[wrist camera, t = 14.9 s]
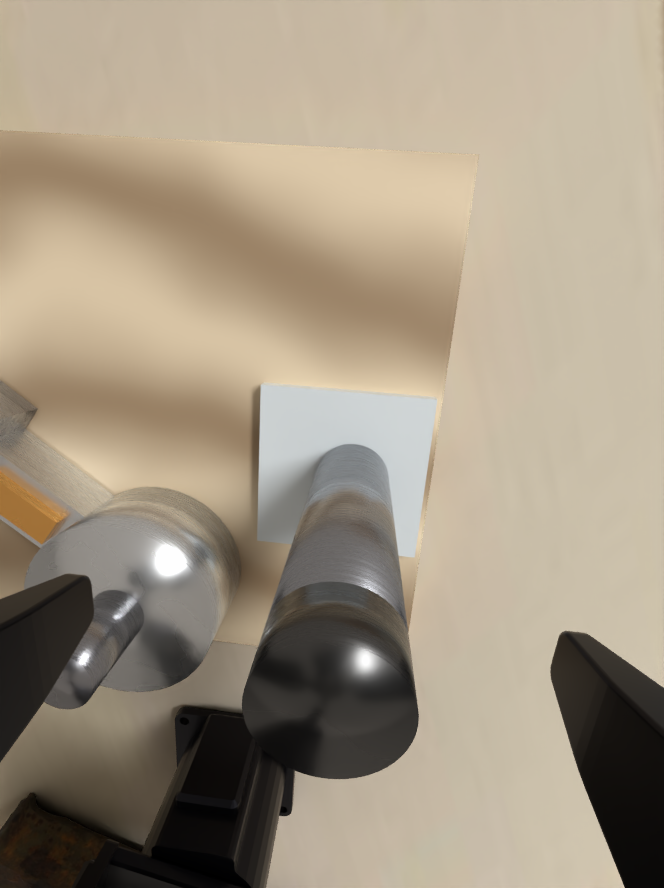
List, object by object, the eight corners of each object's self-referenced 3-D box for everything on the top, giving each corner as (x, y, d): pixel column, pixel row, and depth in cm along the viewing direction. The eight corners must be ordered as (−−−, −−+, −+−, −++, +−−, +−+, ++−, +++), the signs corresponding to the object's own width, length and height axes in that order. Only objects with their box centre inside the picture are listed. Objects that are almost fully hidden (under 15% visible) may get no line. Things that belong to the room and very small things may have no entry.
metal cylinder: (391, 446, 16) (427, 651, 6) (385, 514, 17) (409, 787, 7) (316, 441, 16) (240, 634, 6) (314, 509, 17) (244, 768, 7)
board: (401, 639, 21) (403, 664, 19) (-27, 588, 22) (-54, 607, 21) (468, 170, 15) (479, 154, 13) (-116, 139, 16) (-163, 121, 15)
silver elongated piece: (273, 557, 18) (223, 681, 12) (183, 654, 20) (99, 805, 14) (-50, 307, 16) (-311, 300, 10) (-116, 440, 18) (-370, 503, 12)
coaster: (413, 549, 18) (414, 557, 17) (260, 533, 18) (257, 540, 17) (434, 396, 16) (437, 399, 15) (264, 382, 16) (260, 384, 16)
